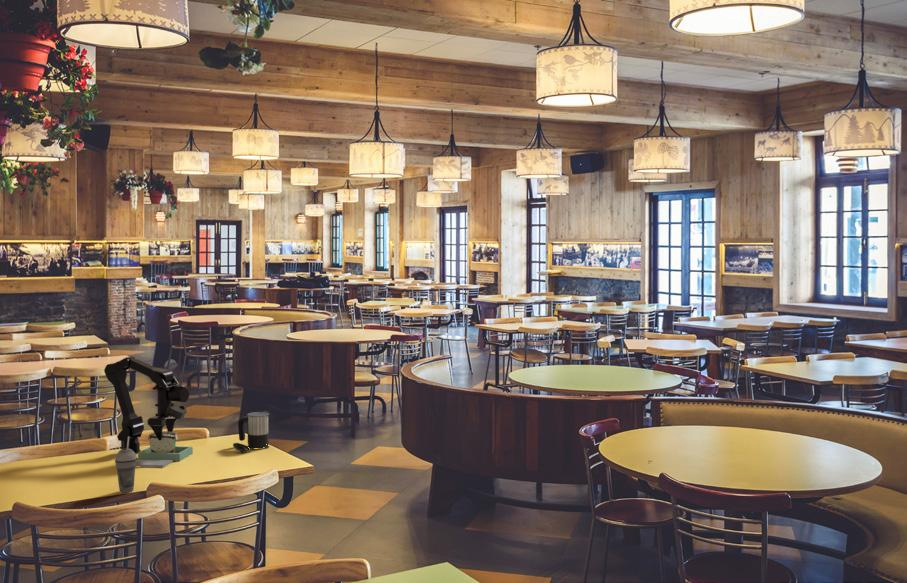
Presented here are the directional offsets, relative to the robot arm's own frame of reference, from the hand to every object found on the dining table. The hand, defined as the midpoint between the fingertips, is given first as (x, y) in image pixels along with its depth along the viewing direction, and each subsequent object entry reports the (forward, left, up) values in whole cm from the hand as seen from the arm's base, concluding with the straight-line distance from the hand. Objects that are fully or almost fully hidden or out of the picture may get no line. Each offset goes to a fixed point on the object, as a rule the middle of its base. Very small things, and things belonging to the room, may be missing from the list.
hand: (165, 437), depth 338 cm
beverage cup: (+9, -48, -8) cm, 50 cm away
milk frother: (+31, +16, -8) cm, 36 cm away
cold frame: (0, 0, -8) cm, 8 cm away
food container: (0, 0, -8) cm, 8 cm away
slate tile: (0, -13, -8) cm, 15 cm away
